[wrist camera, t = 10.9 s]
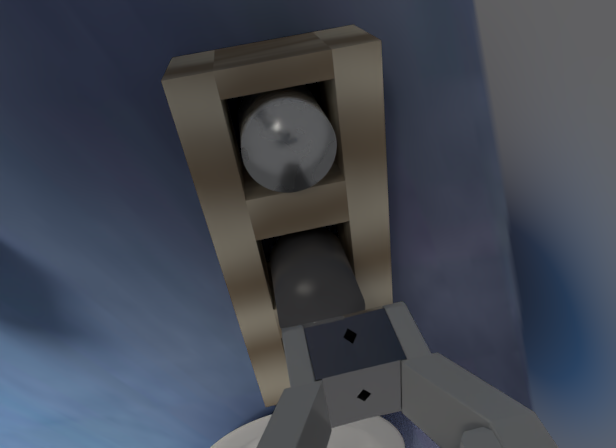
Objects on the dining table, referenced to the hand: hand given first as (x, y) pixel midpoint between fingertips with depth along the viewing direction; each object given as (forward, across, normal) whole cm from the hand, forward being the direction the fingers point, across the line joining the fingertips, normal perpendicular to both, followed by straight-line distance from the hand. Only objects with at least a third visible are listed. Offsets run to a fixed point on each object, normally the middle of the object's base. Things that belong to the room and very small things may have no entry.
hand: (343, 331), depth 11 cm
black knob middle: (+14, 0, +9) cm, 16 cm away
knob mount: (+18, 0, +9) cm, 20 cm away
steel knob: (+17, 0, +1) cm, 17 cm away
